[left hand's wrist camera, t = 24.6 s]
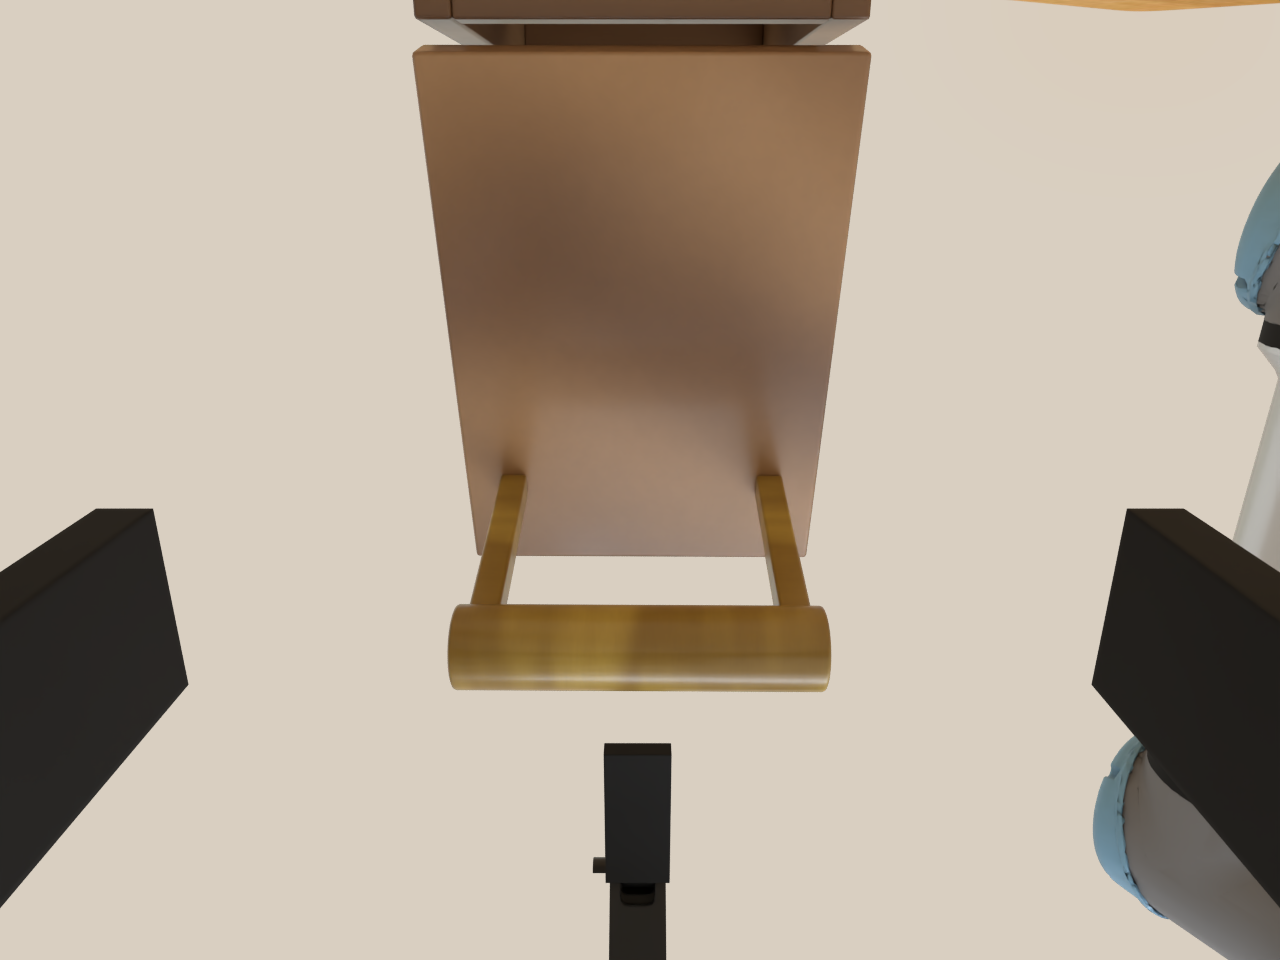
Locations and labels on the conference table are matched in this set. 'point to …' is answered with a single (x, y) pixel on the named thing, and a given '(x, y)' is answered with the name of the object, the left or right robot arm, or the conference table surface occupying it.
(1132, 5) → the conference table surface
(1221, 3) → the conference table surface
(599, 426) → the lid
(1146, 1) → the conference table surface
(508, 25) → the chest
